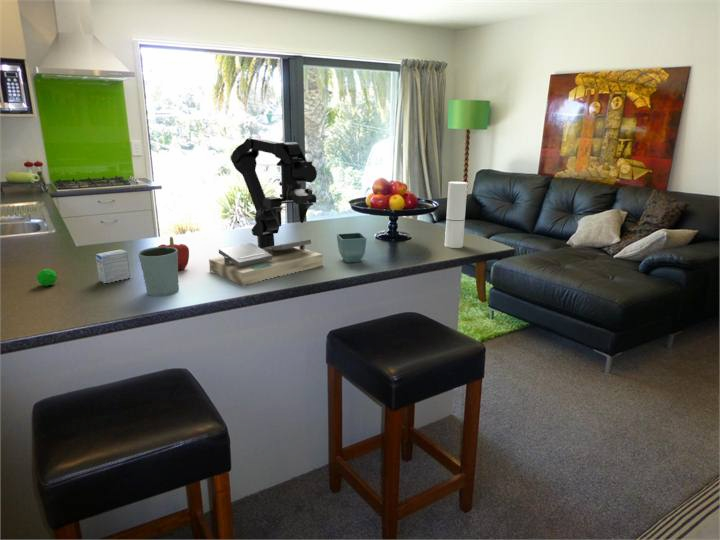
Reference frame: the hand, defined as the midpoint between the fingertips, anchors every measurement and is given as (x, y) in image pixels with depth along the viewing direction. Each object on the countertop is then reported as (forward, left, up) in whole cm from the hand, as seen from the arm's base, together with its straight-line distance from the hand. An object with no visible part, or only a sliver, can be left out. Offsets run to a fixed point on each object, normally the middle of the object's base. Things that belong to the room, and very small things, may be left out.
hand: (291, 224), depth 172 cm
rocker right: (+6, -7, -6) cm, 11 cm away
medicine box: (-15, -56, -12) cm, 59 cm away
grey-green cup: (+5, -50, -12) cm, 51 cm away
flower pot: (+18, +12, -12) cm, 25 cm away
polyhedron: (-23, -72, -12) cm, 76 cm away
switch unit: (+6, -15, -12) cm, 20 cm away
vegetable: (-14, -38, -12) cm, 42 cm away
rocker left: (+6, -23, -6) cm, 24 cm away
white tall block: (+30, +57, -12) cm, 66 cm away
